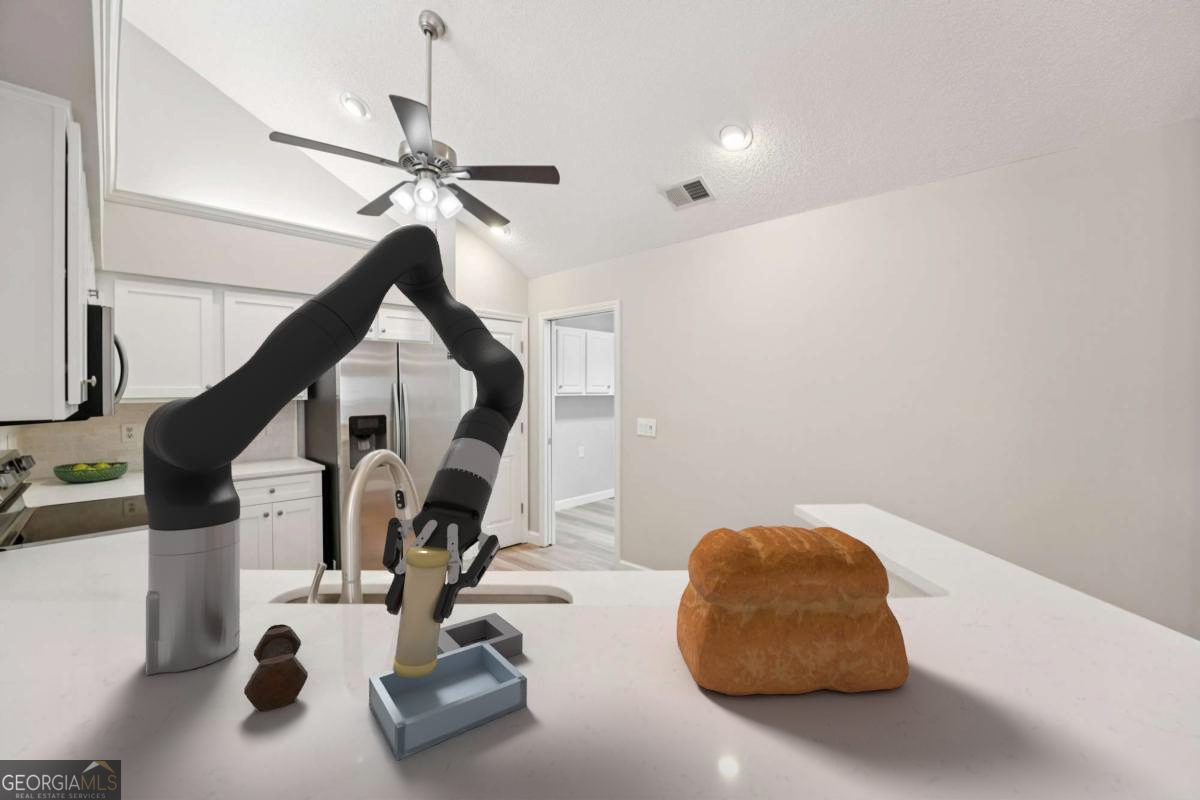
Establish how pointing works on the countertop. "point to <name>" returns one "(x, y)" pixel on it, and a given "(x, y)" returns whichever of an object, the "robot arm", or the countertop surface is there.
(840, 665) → the bread
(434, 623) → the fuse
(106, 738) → the countertop surface
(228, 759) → the countertop surface
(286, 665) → the bolt
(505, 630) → the fuse holder
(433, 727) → the parts tray
